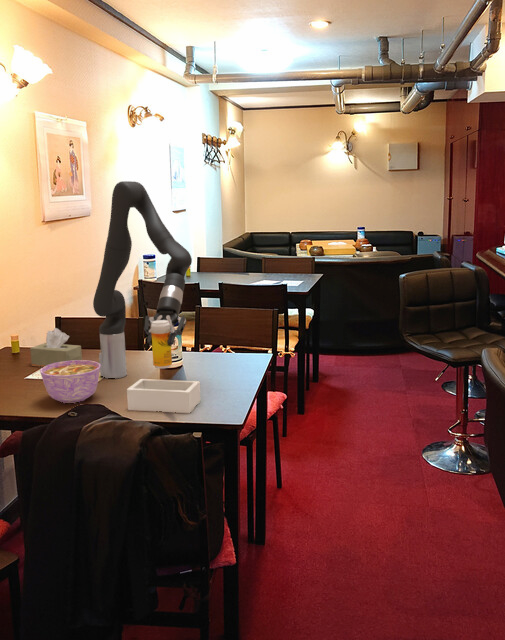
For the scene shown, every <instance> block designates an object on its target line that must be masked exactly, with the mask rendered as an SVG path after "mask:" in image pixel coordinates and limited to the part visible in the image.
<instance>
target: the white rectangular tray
mask: <svg viewBox="0 0 505 640" xmlns="http://www.w3.org/2000/svg"><path fill="white" fill-rule="evenodd" d="M126 396H127V410H128V411H141V412H156V411H158V412H159V411H162V412H161V413H175V412H176V413H177V414H191V413H190V412H193V410H194V409H195V408H196V407H197V406H198V405H199V404H198V403H201V383H200V381H198V380H176V379H174V380H173V379H172V380H171V379H154V378H153V379H148V378H140V379H139V380H137V381H136V382H134V384H132V385H130V386H129V387H128V388H126ZM197 404H198V405H197ZM196 405H197V406H196ZM195 406H196V407H195ZM194 407H195V408H194ZM159 413H160V412H159Z"/></svg>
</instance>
